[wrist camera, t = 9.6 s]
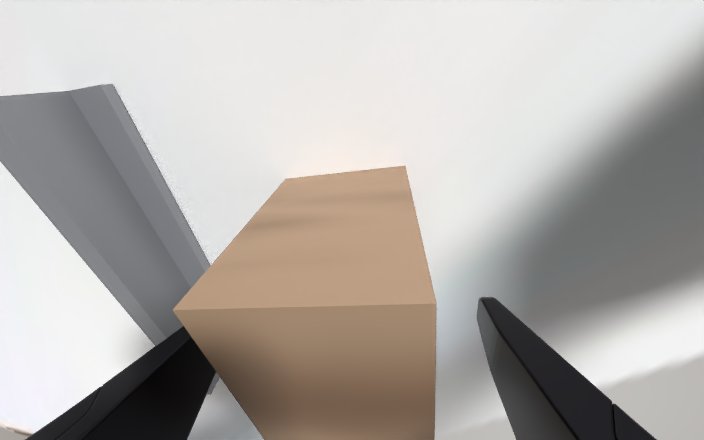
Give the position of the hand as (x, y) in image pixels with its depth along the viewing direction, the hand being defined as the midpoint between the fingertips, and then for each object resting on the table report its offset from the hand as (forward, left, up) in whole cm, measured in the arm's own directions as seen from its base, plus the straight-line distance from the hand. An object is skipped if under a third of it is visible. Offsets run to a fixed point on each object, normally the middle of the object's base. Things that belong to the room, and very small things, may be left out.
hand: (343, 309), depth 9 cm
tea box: (0, 0, -4) cm, 4 cm away
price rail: (+10, 0, -4) cm, 11 cm away
